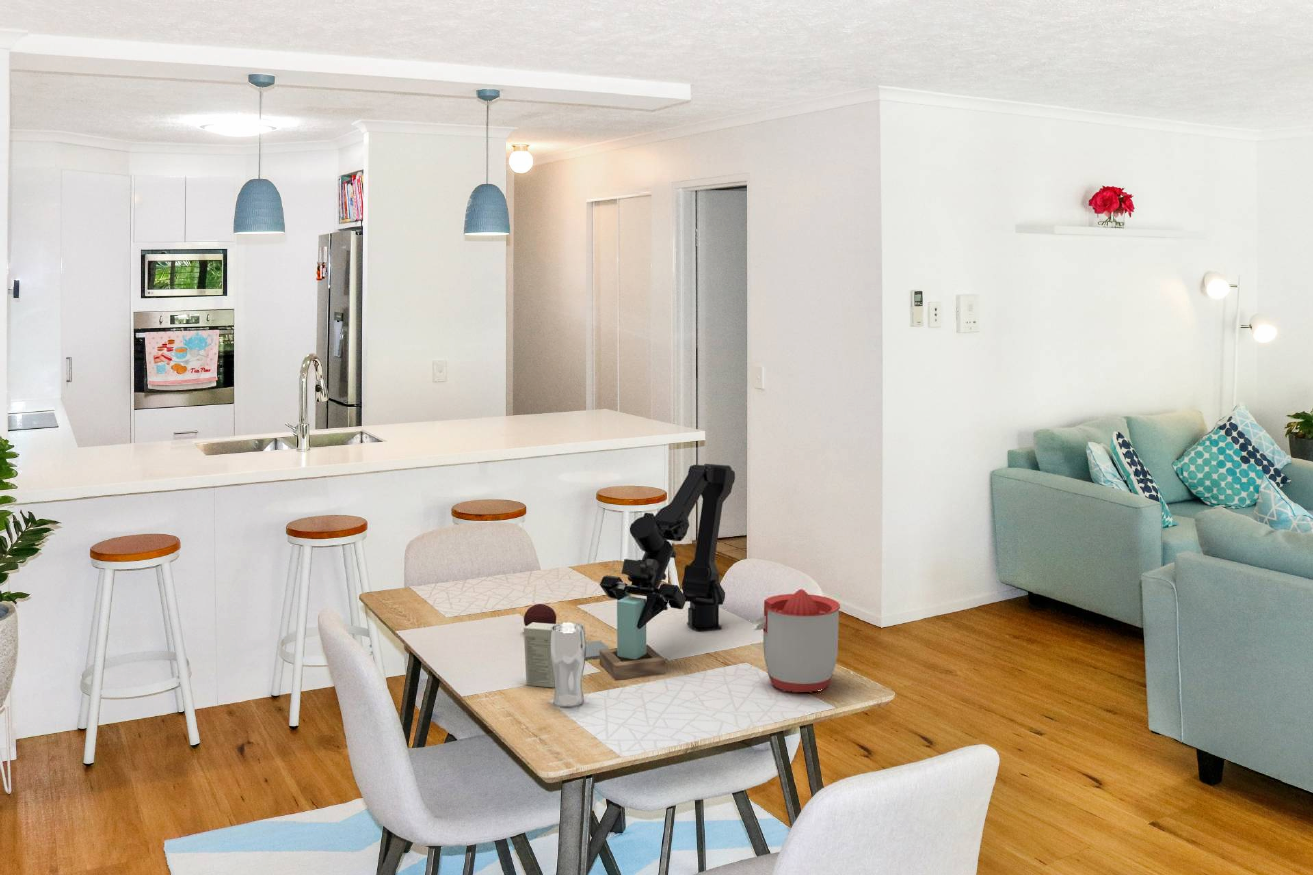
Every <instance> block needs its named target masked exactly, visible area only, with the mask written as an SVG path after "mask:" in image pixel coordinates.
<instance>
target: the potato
mask: <svg viewBox="0 0 1313 875" xmlns="http://www.w3.org/2000/svg"><path fill="white" fill-rule="evenodd" d="M532 622H535V623H548V624H557V614H556V612H555V610H554V608H553V607H551V606H549V605H547V604H543V603H537V604H534V605H531V606H530V607H529V608H528V609H527V610H526V611H525V613H524V615H523V623H524V627H526V626H528V625H529V624H531V623H532Z"/></svg>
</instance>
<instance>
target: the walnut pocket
mask: <svg viewBox="0 0 1313 875" xmlns="http://www.w3.org/2000/svg"><path fill="white" fill-rule="evenodd" d="M599 665H601V667H602V668H603V669H604V670H605V671H606V672H607V673H608V674H609V675H610V676H611V677H612V678H613V679H614V680H615V681H618V680H628V679H633V678H634V679H635V678H641V677H649V676H650V677H651V676H656V675H664V674H666V659H665V658H664V657H663V656H662V655H661V654H659V653H658V652H657V651H656V650H654V649H653V648H652V647H651V646H650V645H649V644H647V643H646V654H645V655H643V656H641V657H639V658H638V659H636V660H635V659H630V658H624V657H619V656H617V647H616V648H609V649H605V650H600V658H599Z"/></svg>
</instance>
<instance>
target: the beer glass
mask: <svg viewBox="0 0 1313 875" xmlns="http://www.w3.org/2000/svg"><path fill="white" fill-rule="evenodd" d="M585 629H586V628H585V625H584V624H582V623H581V624H580V623H577V622H562V623H556V625H554V626H552V627H551V637H550V656H551V663H552V669H553V674H554V679H555V686H554V692H553V693H554V694H553V697H552V698H553V699H552V704H554V705H555V706H557V707H559V708H576V707H579V706H582V705H583V704H584V703H585V696H584V690H583V676H584V670H585V666H586V665H585V664H586V660H585V658H586V642H587V641H586V630H585Z"/></svg>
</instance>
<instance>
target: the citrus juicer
mask: <svg viewBox="0 0 1313 875" xmlns="http://www.w3.org/2000/svg"><path fill="white" fill-rule="evenodd" d="M763 603H764V604H763V616H760V617H758V618H756V620H755V622H754V624H753V631H760V630H763V633H762V634H763V640H762V642H763V643H762V644H763V646H762V648H763V658H764V663H765V667H766V670H767V671H766V672H767V675H768V677H769V681H770V682H771V684H772V685H773V686H774V687H775V688H777V689H779V688H780V689H779V690H781V691H782V690H785V691H788V692H790V691H792V692H791V693H798V692H809V693H813V692H812V691H818V690H821V689H823V688H825V689H826V687H827V686H828V687H829V685H830V683H831V681H832V678H833V676H834V671H835V668H836V665H837V661H838V660H837V659H838V651H839V650H838V649H839V613H840V608H841V605H840V603H839V602H838V601H837V600H835V599H832V598H831V597H826V596H822V595H817V594H810V593H808V592H806V590H804V589H802V588H800V589H798V590H797V591H796V592H794V593H787V594H786V593H785V594H778V595H773V596H770V597H767V598H765V599H764V602H763ZM828 687H827V688H828ZM823 690H824V689H823ZM785 691H784V692H785Z"/></svg>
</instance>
